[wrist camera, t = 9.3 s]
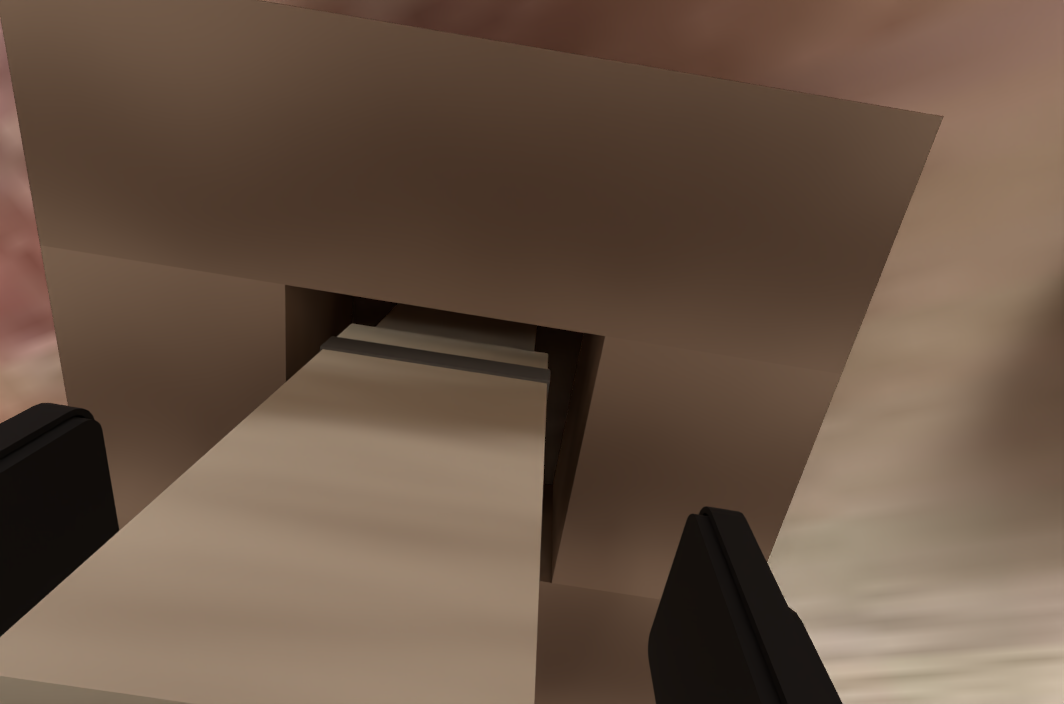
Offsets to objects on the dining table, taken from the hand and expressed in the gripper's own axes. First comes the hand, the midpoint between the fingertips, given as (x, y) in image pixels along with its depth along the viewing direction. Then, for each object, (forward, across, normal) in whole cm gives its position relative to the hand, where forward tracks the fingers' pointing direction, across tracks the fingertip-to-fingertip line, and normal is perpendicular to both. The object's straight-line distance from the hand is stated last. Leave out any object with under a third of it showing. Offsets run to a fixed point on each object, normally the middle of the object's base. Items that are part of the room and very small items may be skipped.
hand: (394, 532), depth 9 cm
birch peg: (+7, 0, 0) cm, 7 cm away
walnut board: (+7, 0, +1) cm, 7 cm away
